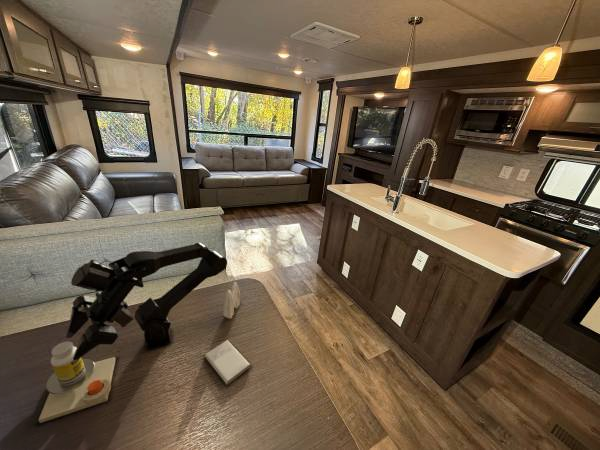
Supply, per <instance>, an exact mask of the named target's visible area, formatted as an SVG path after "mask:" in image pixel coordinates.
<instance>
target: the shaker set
mask: <svg viewBox="0 0 600 450" xmlns="http://www.w3.org/2000/svg"><path fill="white" fill-rule="evenodd" d="M240 305H241V292H240V288H239V286H238V283H237V282H235V281H234V282H233V284H232V287H231V289H228V290H227V291H226V294H225V297H224V300H223V310H222V311H223V312H222V316H224V317H225V318H226V319H232V318H233V316H234V315H235V309H238V308H239V306H240Z"/></svg>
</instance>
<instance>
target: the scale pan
mask: <svg viewBox="0 0 600 450" xmlns="http://www.w3.org/2000/svg"><path fill="white" fill-rule="evenodd" d="M82 361H83V363H84V367H85V370H84V372H83V374H82V375H81V376H80V377H79V378H77V379H76V380H74V381H72V382H69V383H60V382H59V381H58V379H57V377H56V374H55V372H54V371H53V373H52V374H51V375H50V377H49V379H47V382H46V390H47V391H48V393H51V394H64V393H67V392H70V391H72V390H75V389H76V388H78V387H80V386H81V385H83V384H84V383H85V382H86V381H87V380H88V379H89V378H90V377H91V376H92V374H93V372H94V370H95V365H94V361H93V360H92V359H89V358H82Z"/></svg>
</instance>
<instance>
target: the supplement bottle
mask: <svg viewBox="0 0 600 450" xmlns="http://www.w3.org/2000/svg"><path fill="white" fill-rule="evenodd" d="M76 349H77V346H74V343H73V342H72V341H63V342H60V343H59V344H56V345H55V346H54V347H53V348H52V350H51V352H50V353H51V355H52V357H51V359H50V364H51V367H52V369H53V373H54V372H55V374H56V377H57V379H58V381H59V382H60V383H69V382H72V381H74V380H76V379H77V378H79V377H80V376H81V375H82V374H83V372H84V370H85V367H84V363H83V361H82V359H83V357H81V358H80V359H78V360H73V357H74V354H75V351H76Z"/></svg>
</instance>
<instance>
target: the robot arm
mask: <svg viewBox="0 0 600 450" xmlns="http://www.w3.org/2000/svg"><path fill="white" fill-rule="evenodd" d="M197 259H200V261H199V263H198V265H197V267H196V268H195V269H194V270H193V271H192V272H190V273H189V274H187V275H186V276H185V277H184V278H183V279H181V280H180V281H179V282H178V283H177V284H175V285H174V286H173V287H172V288H171V289H169V290H168V291H167V292H165V293H164V294H163V295H162V296H160V297H159V298H155V299H153V298H152V297H149V298H147V299H146V300H145V301H144V302H143V303H141V304H139V305H138V306H137V307H138V308H137V309H136V310H135V312H134V316H133V315H132V313H131V311H130V310H129V309H128V307H129V305H128V303H127V302H126V301H125V300H126V298H127V297H128V296H129V294H130V293H131V291H132V290H133V289H134V288H135V287H138V288H144V283H143V278H147V277H148V276H151V275H153V274H156V273H157V272H159V270H160V269H162V268H165V267H170V266H173V265H177V264H180V263H181V264H182V263H185V262H189V261H193V260H197ZM107 264H108V265H107ZM107 264H104V263H101V262H99V261H97V260H96V259H90V260H89V262H87V263H84V264H82V265H81V266H79V267H78V268H77V269H76V271H75V272H74V273H73V276H72V278H71V283H70V284H71V285H72V286H73V287H78V288H81V289H85V290H90V291H93V292H96V293H95V297H93V296H89V295H84V294H82V295H79V296H77V297H76V298H75V299H74V300H73V302H72V305H73V306H72V307H71V313H70V317H69V321H68V326H67V332H66V334H65V335H66V336H65V337H66V338H67V339H71V338H73V337H74V336H75V335H76V334H77V333H78V332H79V331H80V330H81V329H82V328H83V326H84V325H85V324H86V323H87V322H88V321H89V320H90V321H91V323H92V324H91V325H88V326H87V328H86V329H85V331H84V333H82V334H81V336H80V339H79V341H78V343H77V346H76V347H77V349H76V351H75V354H74V357H73V360H78V359H80V358H83V357H84V356H85V355H86V354H88V353H89V352H91V351H93V349H96V348H97V347H98V346H100V345H113V344H115V342H116V340H117V339H118V338H119V336H118V332H117V330H116V328H115V326H114V325H112V324H114V322H115V323H117V324H118V325H119V326H120V327H121V328H125V327H126V326H127V325H128V324H129V323H131V322H132V321H133V320H135V321H136V323H137V324H138V326H139V328H140V329H141V331H143V336H144V341H145V344H146V345H147V346H146V347H147V350H151V349H155V348H159V347H163V346H165V345H169V344H171V324H172V323H171V322H170V320H169V319H168V315H169V313H170V312H171V310H172V309H173V308H174V307H175V306H176V305H177V304H178V303H180V302H181V301H182V300H183V299H184V298H185V297H187V296H188V295H189V294H190V293H191V292H192V291H194V290H195V289H196V288H197V287H198V286H199V285H201V284H203V282H204V281H205V280H206V279H209V278H212V277H215V276H217V275H219V274H220V273H222V272H223V271H225V270H226V269H227V265H228V259H227V258H226V257H224V256H223V255H222V254H220V253H219V252H218V251H216V250H210V249H209V248H208V247H207V246H206V245H205V244H203V243H201V242H196V243H194V244H190V245H185V246H180V247H176V248H170V249H166V250H162V251H151V250H142V251H141V250H140V251H132V252H129V253H127V254H126V256H124V257H122V258H119V259H116V260H114V261H112V262H109V263H107ZM123 268H124V269H125V270H124V269H123ZM106 322H107V323H110V324H111V325H110V324H106Z"/></svg>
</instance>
